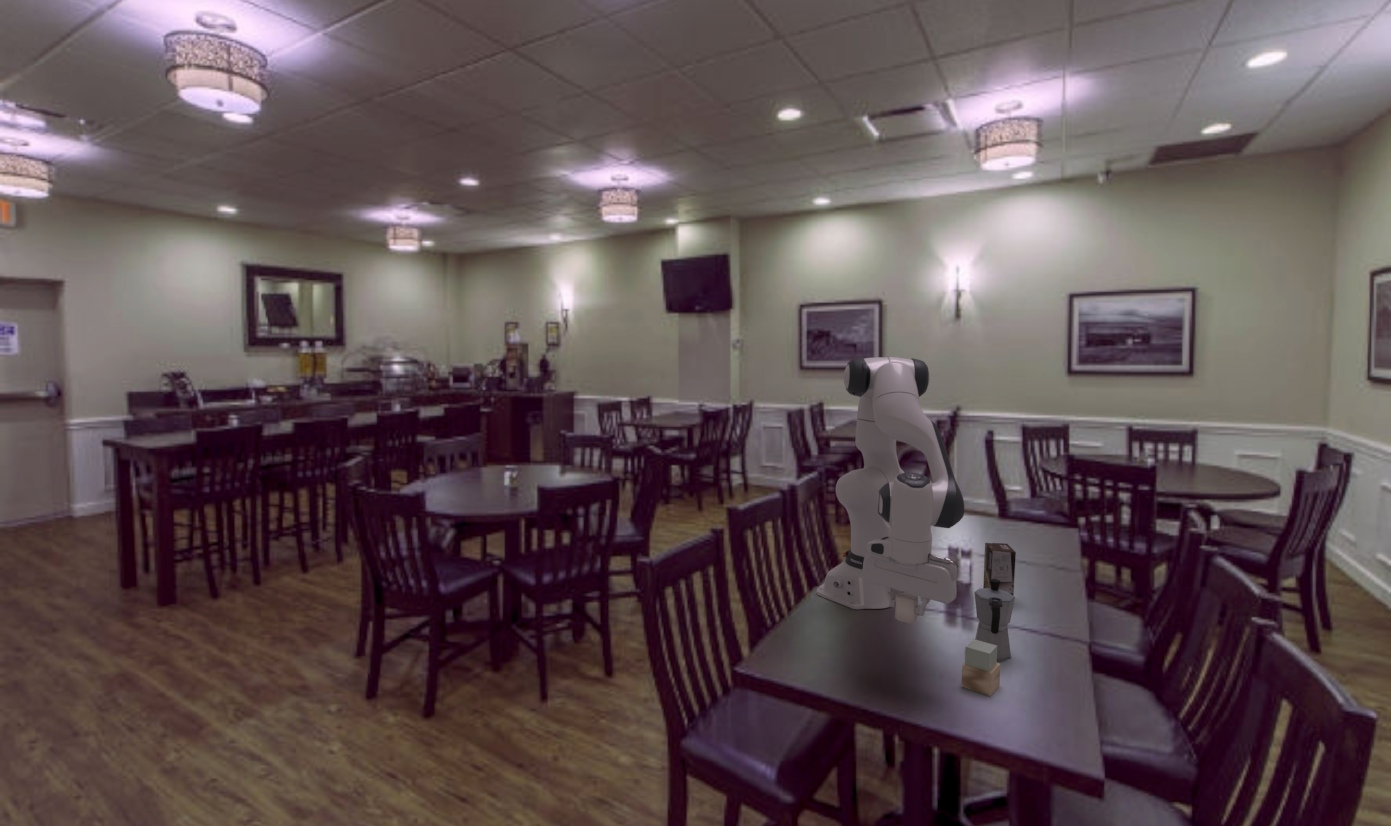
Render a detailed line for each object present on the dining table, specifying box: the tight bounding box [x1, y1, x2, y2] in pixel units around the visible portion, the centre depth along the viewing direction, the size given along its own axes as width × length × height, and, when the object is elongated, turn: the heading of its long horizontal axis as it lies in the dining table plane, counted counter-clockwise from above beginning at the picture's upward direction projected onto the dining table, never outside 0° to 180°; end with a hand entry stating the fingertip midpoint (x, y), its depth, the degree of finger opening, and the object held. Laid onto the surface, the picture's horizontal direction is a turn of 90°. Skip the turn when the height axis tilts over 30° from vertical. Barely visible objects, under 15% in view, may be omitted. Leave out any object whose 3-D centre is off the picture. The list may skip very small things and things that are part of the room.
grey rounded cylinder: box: [894, 591, 919, 624], centre depth 144 cm, size 5×5×5 cm
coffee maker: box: [973, 579, 1016, 662], centre depth 156 cm, size 15×9×18 cm, turn 159°
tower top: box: [964, 638, 998, 672], centre depth 142 cm, size 5×5×4 cm
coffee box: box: [983, 542, 1017, 596], centre depth 189 cm, size 9×6×16 cm
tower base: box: [960, 662, 1001, 697], centre depth 142 cm, size 6×6×5 cm
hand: (906, 610), depth 144 cm, fingers closed on grey rounded cylinder, 5 cm apart
